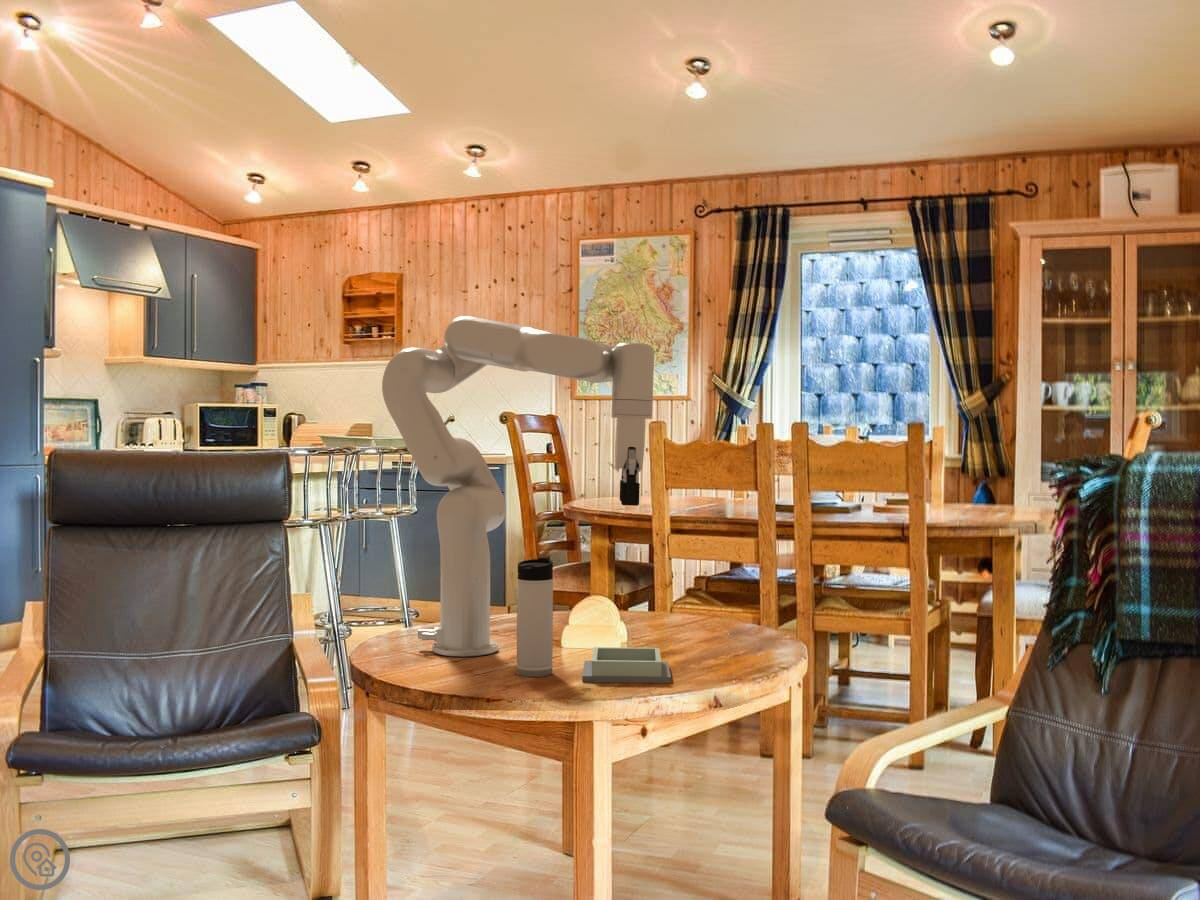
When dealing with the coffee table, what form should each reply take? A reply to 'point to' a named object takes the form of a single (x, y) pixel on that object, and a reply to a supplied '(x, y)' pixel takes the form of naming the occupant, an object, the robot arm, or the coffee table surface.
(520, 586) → the travel mug
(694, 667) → the coffee table surface
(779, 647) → the coffee table surface
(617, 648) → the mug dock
